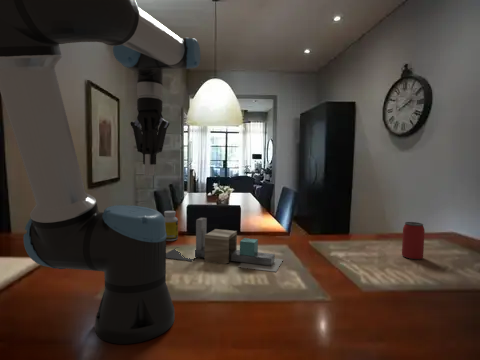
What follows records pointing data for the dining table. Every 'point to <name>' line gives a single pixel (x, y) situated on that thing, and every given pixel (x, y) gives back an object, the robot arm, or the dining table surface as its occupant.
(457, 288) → the dining table surface
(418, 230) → the beer can
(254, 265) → the mat
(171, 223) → the pill bottle
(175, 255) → the grey shoe shape
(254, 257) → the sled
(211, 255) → the tunnel
